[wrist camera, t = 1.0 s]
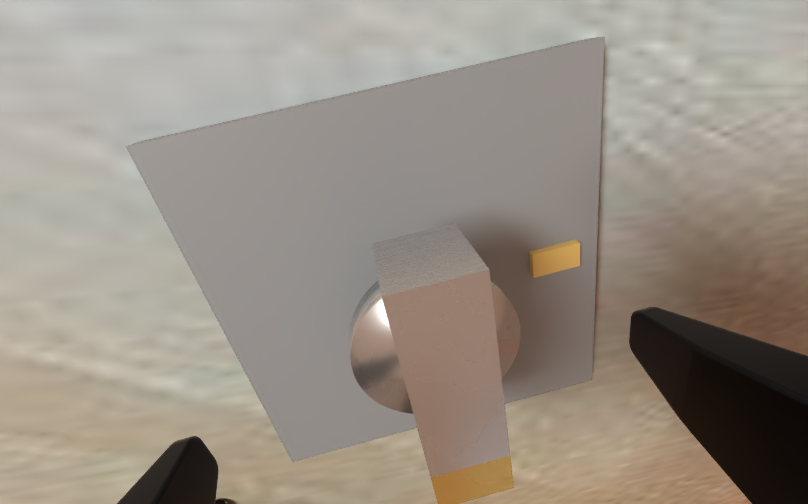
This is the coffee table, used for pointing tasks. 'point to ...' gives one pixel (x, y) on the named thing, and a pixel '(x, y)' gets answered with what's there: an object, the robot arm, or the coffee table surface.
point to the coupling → (440, 356)
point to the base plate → (391, 224)
